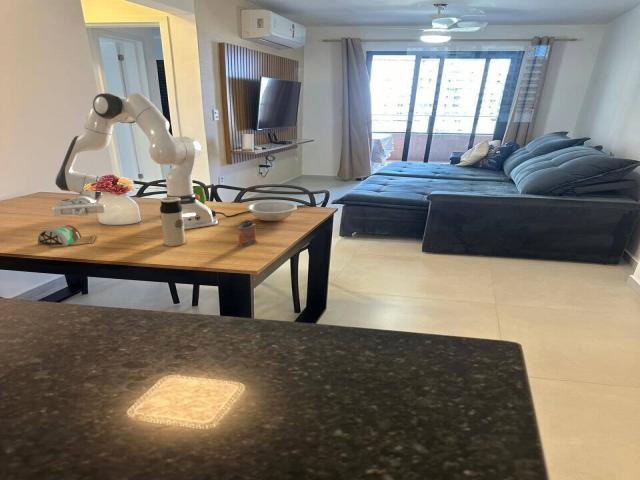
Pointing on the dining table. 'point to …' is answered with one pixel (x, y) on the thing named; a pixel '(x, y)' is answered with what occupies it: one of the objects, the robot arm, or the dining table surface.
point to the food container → (59, 235)
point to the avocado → (200, 194)
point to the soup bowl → (271, 210)
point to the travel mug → (172, 221)
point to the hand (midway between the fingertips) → (77, 213)
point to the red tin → (246, 232)
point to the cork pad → (79, 241)
